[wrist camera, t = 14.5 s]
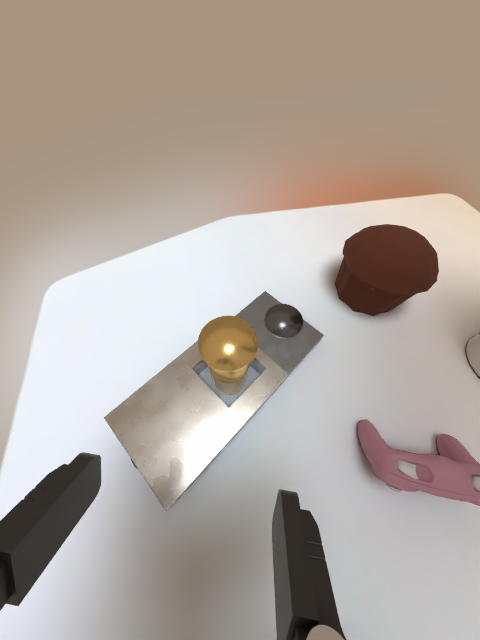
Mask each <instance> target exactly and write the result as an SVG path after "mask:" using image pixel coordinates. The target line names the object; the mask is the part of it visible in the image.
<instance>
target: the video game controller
mask: <svg viewBox="0 0 480 640" xmlns="http://www.w3.org/2000/svg"><path fill="white" fill-rule="evenodd" d="M358 436H359V440H360V443H361V446H362V449H363V451H364V453H365V455H366V457H367V458H368V460H369V462H370V463H371V465H372V466H373V472H374V474H375V475H376V476H377V477H378V478H379V479H381V480H382V481H384V482H386V484H387V485H388V486H389V487H390V488H391V489H393V490H396V491H402V490H405V491H414V492H415V491H418V490H420V491H423V492H426V493H430V494H433V495H436V496H441V497H445V498H450V499H454V500H460V501H466V502H470V503H473V504H476V505H479V506H480V464H479V463H478V462H477V461H476V460H475V459H474V458H473V457H472V456H471V455H470V454H469V452H468V451H467V450H466V449H465V448H464V446H463V445H462V444H461V443H460V442H459V441H458V440H457V439H455V438H454V437H452V436H450V435H447V434H440V435H439V436H438V438H437V447H438V450H439V453H440V455H441V456H440V455H436V454H421V455H418V454H414V453H410V452H405V451H399V450H394V449H392V448H390V447H389V446H388V445H387V444H386V443H385V441H384V440H383V439H382V438H381V436H380V435H379V433H378V431H377V430H376V428H375V427H374V426H373V424H372V423H370V422H369V421H368V420H361V421H360V422H359V424H358Z"/></svg>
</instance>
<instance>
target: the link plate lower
mask: <svg viewBox="0 0 480 640" xmlns="http://www.w3.org/2000/svg"><path fill="white" fill-rule="evenodd" d="M235 317H239V318H241V319H244V320H245V321H247V322H248V323H249V324H250V325H251V326H252V327H253V328H254V330H255V331H256V333H257V337H258V348H259V349H260V350H261V351H263V352H264V353H265V354H266V355H267V356H268V357H269V358H271V359H272V360H273V361H274V362H275V363H276V364H277V365H279V366H280V367H281V368H282V369H283V370H284V371H285V372H286V373H288V375H287V377H288V376H289V375H290V374H291V372H292V371H293V370H294V369H295V368H296V367H297V366H298V365H299V363H300V362H301V361H302V360H303V359H304V358H305V357H306V356H307V354H308V353H309V352H310V351H311V350H312V349H313V348H314V347H315V345H316V344H317V343H318V342H319V341H320V340H321V338H322V337H323V336H324V335H323V334H322V333H320V332H319V331H318V330H316V329H315V328H314V327H312V326H311V325H310V324H308V323H307V322H306V321H304V320H303V318H302V315H301V314H300V312H299V311H298V310H297V309H296V308H294V307H292V306H290V305H287V304H282V303H280V302H279V301H278V300H276V299H275V298H274V297H272V296H271V295H270V294H268V293H267V292H266V291H265V292H263V293H262V294H261V295H260V296H259V297H258V298H256V299H255V300H254V301H253V302H252V303H250V304H249V305H248V306H247V307H246V308H244V309H243V310H242V311H241V312H240V313H238V314H237V315H236V316H235ZM250 365H251V366H252V367H253V368H254V369H255V370H257V371H258V372H259V373H260V374H262V373H263V371H262V370H261V369H260V368H259V367H258V366H257V365H256V364H255V363H254V362H253V361H252V362H251V363H250ZM207 366H208V365H207V364H206V363H204V364H203V365H202V366H201V367H200V368H198V369H197V370H196V371H195V373H196V374H197V375H198V374H199V373H200V372H201V371H202V370H204V369H205V368H206V367H207ZM287 377H286V378H287ZM286 378H285V379H286ZM285 379H284V380H285ZM282 383H283V382H282ZM282 383H281V384H282ZM281 384H280V385H281ZM280 385H279V386H280ZM279 386H278V387H279ZM278 387H277V388H278ZM277 388H276V389H277ZM276 389H275V390H276ZM274 392H275V391H274ZM274 392H273V393H274ZM273 393H272V394H273ZM272 394H271V395H272ZM271 395H270V396H271ZM270 396H269V397H270ZM269 397H268V398H269ZM268 398H267V399H268ZM266 401H267V400H266ZM266 401H265V402H266ZM265 402H264V403H265ZM264 403H263V404H264ZM263 404H262V405H263ZM262 405H261V406H262ZM261 406H260V407H261ZM260 407H259V408H260ZM258 410H259V409H258ZM258 410H257V411H258ZM257 411H256V412H257ZM256 412H255V413H256ZM255 413H254V414H255ZM254 414H253V415H254ZM253 415H252V416H253ZM252 416H251V417H252ZM250 419H251V418H250ZM250 419H249V420H250ZM249 420H248V421H249ZM248 421H247V422H248ZM247 422H246V423H247ZM246 423H245V424H246ZM245 424H244V425H245ZM244 425H243V426H244ZM242 428H243V427H242ZM242 428H241V429H242ZM241 429H240V430H241ZM240 430H239V431H240ZM239 431H238V432H239ZM238 432H237V433H238ZM237 433H236V434H237ZM236 434H235V435H236Z"/></svg>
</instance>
